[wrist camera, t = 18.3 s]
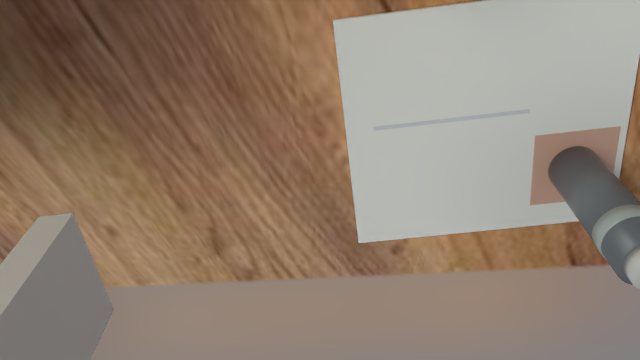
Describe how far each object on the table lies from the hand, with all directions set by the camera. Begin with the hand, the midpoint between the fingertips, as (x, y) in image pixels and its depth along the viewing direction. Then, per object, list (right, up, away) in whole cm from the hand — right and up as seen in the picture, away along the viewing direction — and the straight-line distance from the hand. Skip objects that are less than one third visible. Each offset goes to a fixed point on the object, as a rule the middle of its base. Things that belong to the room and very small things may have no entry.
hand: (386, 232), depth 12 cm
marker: (+17, +2, +29) cm, 34 cm away
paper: (+10, +5, +28) cm, 30 cm away
